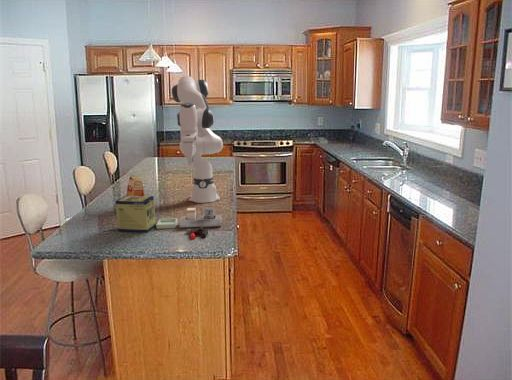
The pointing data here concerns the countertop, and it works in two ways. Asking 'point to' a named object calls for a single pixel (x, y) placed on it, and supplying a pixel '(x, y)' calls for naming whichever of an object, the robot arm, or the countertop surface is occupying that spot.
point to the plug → (191, 213)
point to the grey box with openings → (202, 220)
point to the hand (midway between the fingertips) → (191, 163)
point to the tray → (167, 223)
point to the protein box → (135, 213)
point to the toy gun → (197, 232)
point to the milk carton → (135, 186)
